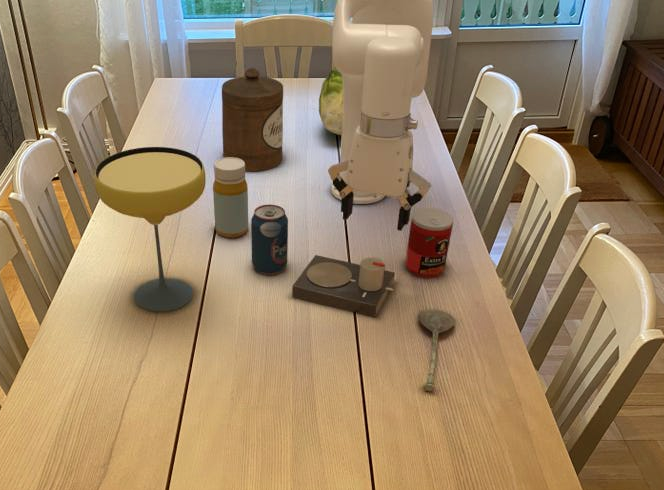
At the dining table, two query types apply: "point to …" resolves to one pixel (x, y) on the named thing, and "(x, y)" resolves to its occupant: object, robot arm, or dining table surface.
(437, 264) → the canned food
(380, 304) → the hob
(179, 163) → the cocktail glass
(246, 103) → the wooden container
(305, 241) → the dining table surface
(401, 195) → the robot arm
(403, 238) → the dining table surface
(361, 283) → the hob knob
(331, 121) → the lettuce
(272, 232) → the soda can
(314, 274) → the burner ring
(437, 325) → the soupspoon
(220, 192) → the bottle
